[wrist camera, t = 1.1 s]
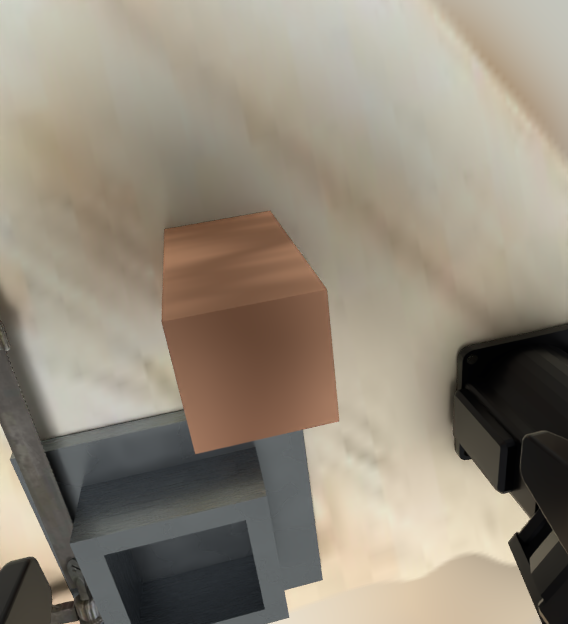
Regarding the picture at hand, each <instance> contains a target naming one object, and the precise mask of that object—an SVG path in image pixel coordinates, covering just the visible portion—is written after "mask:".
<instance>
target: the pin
mask: <svg viewBox="0 0 568 624" xmlns="http://www.w3.org/2000/svg"><path fill="white" fill-rule="evenodd" d="M162 325H163V329H164V333H165V337H166V341H167V345H168V349H169V353H170V357H171V361H172V365H173V369H174V372H175V376H176V380H177V384H178V388H179V392H180V396H181V400H182V404H183V408H184V412H185V416H186V420H187V424H188V427H189V431H190V435H191V439H192V443H193V447H194V451H195V454H198V453H203V452H207V451H211V450H216V449H220V448H224V447H229V446H233V445H238V444H242V443H246V442H251V441H255V440H259V439H264V438H268V437H272V436H277V435H281V434H286V433H290V432H294V431H299V430H303V429H307V428H312V427H316V426H320V425H325V424H329V423H334V422H338V421H339V413H338V402H337V391H336V381H335V370H334V359H333V349H332V338H331V327H330V317H329V306H328V295H327V289H326V287H325V286H324V285H323V283H322V282H321V281H320V279H319V278H318V276H317V275H316V274H315V272H314V271H313V269H312V268H311V267H310V265H309V264H308V263H307V261H306V260H305V258H304V257H303V256H302V254H301V253H300V251H299V250H298V249H297V247H296V246H295V245H294V243H293V242H292V240H291V239H290V238H289V236H288V235H287V233H286V232H285V231H284V229H283V228H282V227H281V225H280V224H279V222H278V221H277V220H276V218H275V217H274V215H273V214H272V213H271V211H266V212H260V213H254V214H249V215H243V216H237V217H231V218H226V219H220V220H214V221H208V222H203V223H197V224H191V225H185V226H180V227H174V228H168V229H164V261H163V294H162Z"/></svg>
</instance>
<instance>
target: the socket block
mask: <svg viewBox="0 0 568 624" xmlns="http://www.w3.org/2000/svg"><path fill="white" fill-rule="evenodd" d="M41 444H42V445H43V449H44V453H46V457H47V458H48V461H49V465H50V466H51V468H50V469H52V470H53V471H52V473H53V474H54V477H55V478H56V479H55V480H56V482H57V485H58V486H59V487H58V488H59V489H60V493H61V494H62V495H61V496H62V497H63V500H64V501H65V502H64V503H65V505H66V508H67V509H68V510H67V511H68V512H69V515H70V516H71V517H70V519H71V520H72V523H73V529H72V534H71V539H70V546H71V549H72V551H73V553H74V555H75V558H76V560H77V562H78V565H79V567H80V569H81V572H82V574H83V576H84V578H85V581H86V583H87V585H88V588H89V590H90V592H91V594H92V597H93V599H94V601H95V604H96V606H97V608H98V611H99V613H100V615H101V617H102V620H103V622H104V624H268V623H271V622H275V621H278V620H282V619H286V618H289V614H288V608H287V603H286V597H285V592H284V590H287V589H291V588H295V587H298V586H302V585H306V584H310V583H313V582H317V581H321V580H323V579H322V572H321V564H320V557H319V549H318V542H317V534H316V527H315V519H314V512H313V504H312V497H311V489H310V482H309V474H308V467H307V459H306V452H305V444H304V437H303V430H299V431H294V432H290V433H286V434H281V435H277V436H272V437H268V438H264V439H259V440H255V441H251V442H246V443H242V444H238V445H233V446H229V447H224V448H220V449H216V450H211V451H207V452H203V453H198V454H195V451H194V447H193V443H192V439H191V435H190V431H189V427H188V424H187V420H186V416H185V412H184V410H181V411H177V412H172V413H168V414H163V415H158V416H154V417H149V418H145V419H140V420H136V421H131V422H126V423H122V424H117V425H113V426H108V427H103V428H99V429H94V430H90V431H85V432H80V433H76V434H71V435H67V436H62V437H57V438H53V439H48V440H44V441H41ZM10 461H11V463H12V465H13V467H14V470H15V472H16V474H17V476H18V478H19V480H20V483H21V485H22V487H23V489H24V491H25V493H26V496H27V498H28V500H29V502H30V504H31V506H32V509H33V511H34V513H35V515H36V517H37V519H38V522H39V524H40V526H41V528H42V530H43V532H44V535H45V537H46V539H47V541H48V543H49V545H50V548H51V550H52V552H53V554H54V556H55V558H56V561H57V563H58V565H59V567H60V569H61V572H62V574H63V576H64V578H65V580H66V577H65V575H64V573H63V570H62V568H61V566H60V563H59V561H58V558H57V556H56V554H55V551H54V549H53V547H52V544H51V542H50V540H49V537H48V535H47V532H46V530H45V528H44V525H43V523H42V521H41V518H40V516H39V513H38V511H37V509H36V506H35V504H34V502H33V499H32V497H31V495H30V492H29V490H28V487H27V485H26V483H25V480H24V478H23V476H22V473H21V471H20V468H19V466H18V464H17V461H16V459H15V457H14V454H13V453H12V455H11V458H10ZM66 582H67V580H66ZM67 585H68V587H69V584H68V582H67ZM69 589H70V587H69ZM70 591H71V593H72V595H73V598H74V599H75V597H76V596H77V595H78V594H79V591H78V589H77V588H73V589H70Z"/></svg>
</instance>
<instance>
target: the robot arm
mask: <svg viewBox="0 0 568 624" xmlns="http://www.w3.org/2000/svg"><path fill="white" fill-rule="evenodd" d="M471 355H473V357H472V358H471V359H469V360H468V358H469V356H471ZM453 435H454V437H455V438H456V442H455V450H456V453H457V454H458V456H459V457H460V458H461V459H463V460H469V459H472V460H473V461H474V462H475V464H476V465H477V466H478V468H479V469H480V470H481V471H482V473H483V474H484V475H485V477H486V478H487V479H488V480H489V482H490V483H491V484H492V486H493V487H494V488H495V489H496V490H497V491H498V492H500V493H501V494H505V493H508V492H509V493H510V494H511V495H512V496H513V498H514V499H515V500H516V501H517V503H518V504H519V505H520V506H521V508H522V509H523V510H524V511H525V513H526V514H527V515H528V516H529V518H530V520H529V521H528V522H527V523H526V525H525V526H524V527H523V528H522V530H521V531H520V532H519V533H518V532H516V533H515V534H514V536H513V537H512V538H511V539H510V540H509V542H508V544H509V546H510V549H511V551H512V553H513V556H514V558H515V560H516V563H517V565H518V568H519V570H520V572H521V575H522V577H523V579H524V582H525V584H526V587H527V589H528V591H529V593H530V596H531V598H532V601H533V603H534V605H535V608H536V610H537V613H538V615H539V617H540V619H541V622H542V624H568V324H567V325H563V326H558V327H553V328H549V329H544V330H539V331H535V332H530V333H526V334H521V335H516V336H512V337H507V338H503V339H498V340H493V341H489V342H484V343H480V344H475V345H470V346H467V347H465V348H463V349H462V350H461V351H460V353H459V356H458V376H457V390H456V393H455V395H454V416H453ZM51 610H52V592H51V588H50V585H49V583H48V581H47V579H46V577H45V575H44V573H43V571H42V569H41V567H40V565H39V563H38V561H37V560H36V559H35V558H34V557H26V558H22V559H18V560H14V561H11V562H9V563H7V564H6V565H5V566H4V567H3V568H2V569H1V570H0V624H50V623H51Z"/></svg>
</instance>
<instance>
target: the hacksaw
mask: <svg viewBox="0 0 568 624" xmlns="http://www.w3.org/2000/svg"><path fill="white" fill-rule="evenodd" d="M10 347H11V346H10V344H9V341H8V339H7V335H6V332H5V330H4V325H3V323H2V322H1V320H0V424H1V426H2V428H3V431H4V433H5V435H6V438H7V440H8V442H9V445H10V447H11V450H12V452H13V454H14V457H15V459H16V461H17V464H18V466H19V468H20V471H21V473H22V476H23V478H24V480H25V483H26V485H27V487H28V490H29V492H30V495H31V497H32V499H33V502H34V504H35V506H36V509H37V511H38V513H39V516H40V518H41V521H42V523H43V525H44V528H45V530H46V532H47V535H48V537H49V540H50V542H51V544H52V547H53V549H54V551H55V554H56V556H57V558H58V561H59V563H60V566H61V568H62V570H63V573H64V575H65V577H66V580H67V582H68V584H69V587H70V589H73V588H77V589H78V591H79V594H78V595H77V596H76V597H75V599H74V601H70V602H65V603H62V604H57V605H52V610H51V623H50V624H64V623H69V622H74V621H78V620H79V621H80V624H104V622H103V620H102V617H101V615H100V613H99V611H98V608H97V606H96V604H95V601H94V599H93V597H92V594H91V592H90V590H89V588H88V585H87V583H86V581H85V578H84V576H83V574H82V572H81V569H80V567H79V565H78V562H77V560H76V558H75V555H74V553H73V551H72V549H71V546H70V539H71V534H72V529H73V523H72V520H71V519H70V517H71V516H70V515H69V512H68V511H67V510H68V509H67V508H66V505H65V503H64V502H65V501H64V500H63V497H62V496H61V495H62V494H61V493H60V489H59V488H58V487H59V486H58V485H57V482H56V480H55V479H56V478H55V477H54V474H53V473H52V471H53V470H52V469H50V468H51V466H50V465H49V461H48V458H47V457H46V453H44V449H43V445H42V444H41V440H40V439H39V438H40V437H39V436H38V432H37V431H36V428H35V427H34V423H33V422H32V421H33V419H32V418H31V414H29V410H28V409H27V405H26V404H25V402H26V401H25V400H24V399H23V398H24V396H23V395H22V391H20V386H18V382H17V380H16V377H15V376H14V373H15V372H13V371H12V367H11V366H10V364H11V362H10V361H9V357H8V356H7V355H6V354H7V352H5V351H8V350H9V349H10ZM4 350H5V351H4Z"/></svg>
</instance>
